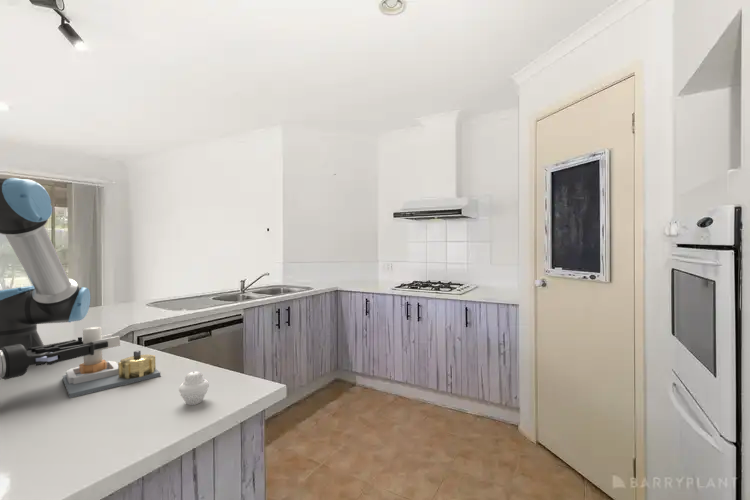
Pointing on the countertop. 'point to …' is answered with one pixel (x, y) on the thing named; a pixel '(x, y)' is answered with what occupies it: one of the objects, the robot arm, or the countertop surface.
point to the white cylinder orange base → (94, 361)
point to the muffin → (194, 388)
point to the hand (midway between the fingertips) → (114, 339)
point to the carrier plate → (98, 380)
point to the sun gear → (136, 365)
